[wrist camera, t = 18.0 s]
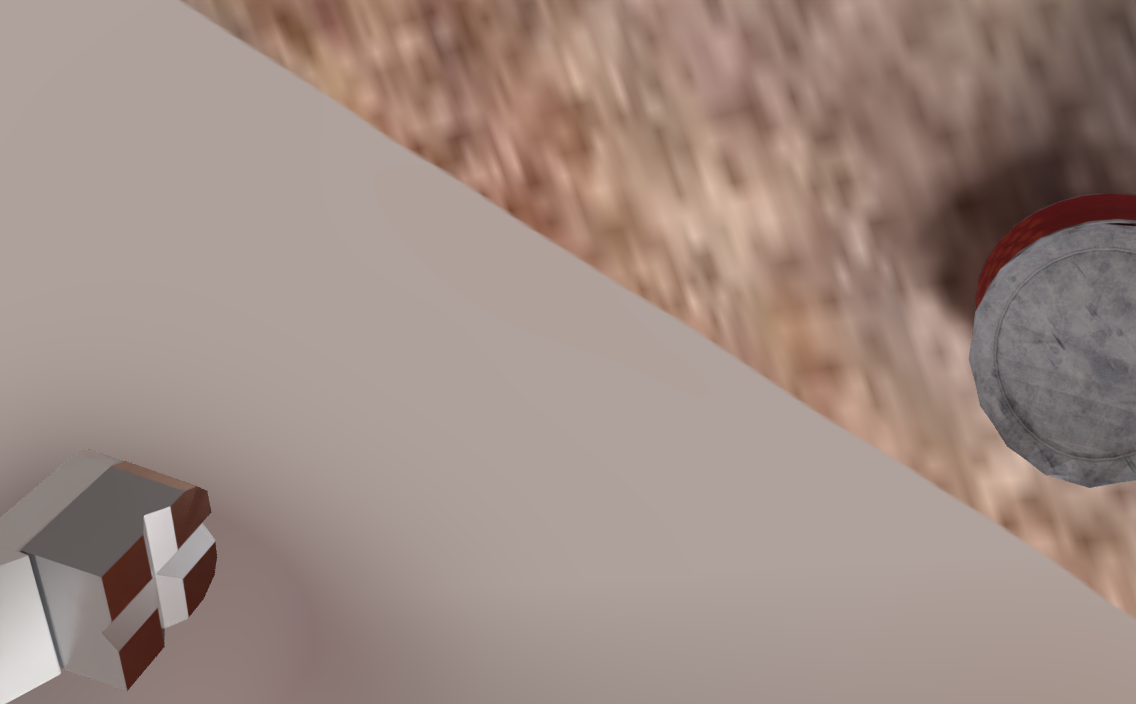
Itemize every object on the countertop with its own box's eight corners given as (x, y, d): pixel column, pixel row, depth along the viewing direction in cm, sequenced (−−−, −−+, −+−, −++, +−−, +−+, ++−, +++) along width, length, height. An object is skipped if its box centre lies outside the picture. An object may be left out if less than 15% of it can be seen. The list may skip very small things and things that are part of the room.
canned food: (980, 299, 53) (874, 364, 47) (1106, 131, 47) (1002, 180, 40) (1179, 457, 49) (1091, 552, 42) (1350, 296, 42) (1276, 380, 36)
